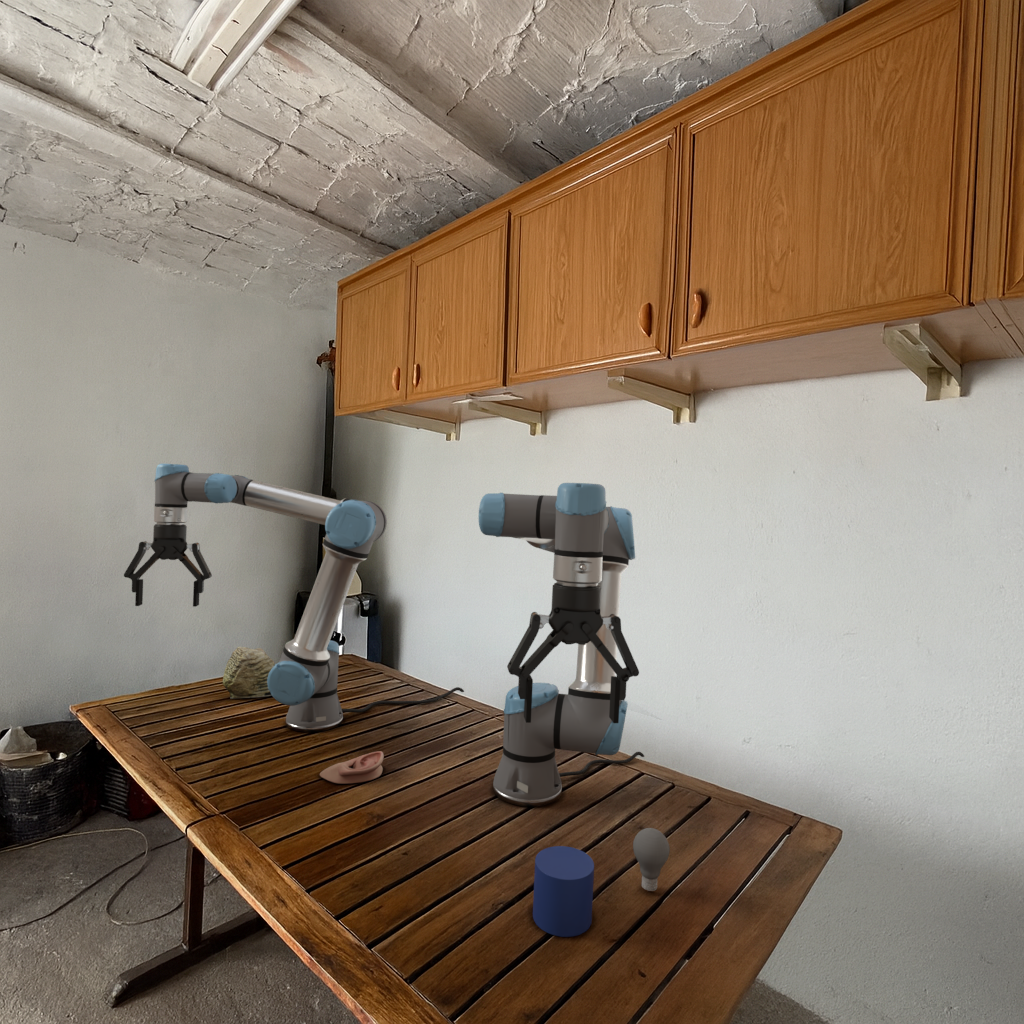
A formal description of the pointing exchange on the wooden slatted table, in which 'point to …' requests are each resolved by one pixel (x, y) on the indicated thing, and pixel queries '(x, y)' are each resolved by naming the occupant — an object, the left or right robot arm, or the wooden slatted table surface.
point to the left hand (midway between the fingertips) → (167, 605)
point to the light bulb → (650, 855)
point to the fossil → (248, 673)
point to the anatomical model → (355, 769)
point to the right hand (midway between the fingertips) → (570, 720)
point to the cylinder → (563, 891)
